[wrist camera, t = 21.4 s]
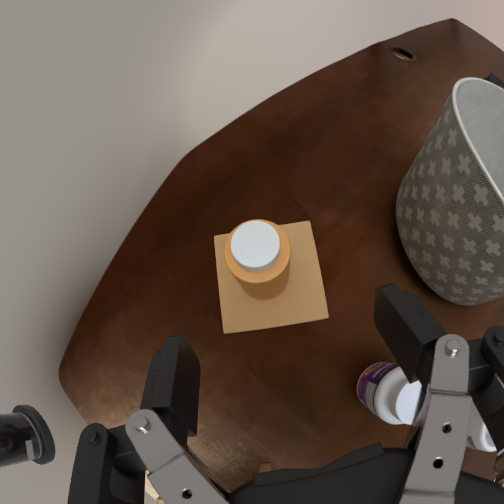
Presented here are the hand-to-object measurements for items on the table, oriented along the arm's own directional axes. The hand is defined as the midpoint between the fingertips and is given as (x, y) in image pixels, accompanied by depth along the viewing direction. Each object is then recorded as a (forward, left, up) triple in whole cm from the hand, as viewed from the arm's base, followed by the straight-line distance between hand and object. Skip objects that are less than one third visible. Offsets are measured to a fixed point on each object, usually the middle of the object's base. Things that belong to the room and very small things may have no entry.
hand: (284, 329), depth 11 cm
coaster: (-1, +7, -18) cm, 19 cm away
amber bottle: (-1, +7, -17) cm, 18 cm away
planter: (+23, +8, -18) cm, 31 cm away
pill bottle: (+9, -7, -18) cm, 22 cm away
